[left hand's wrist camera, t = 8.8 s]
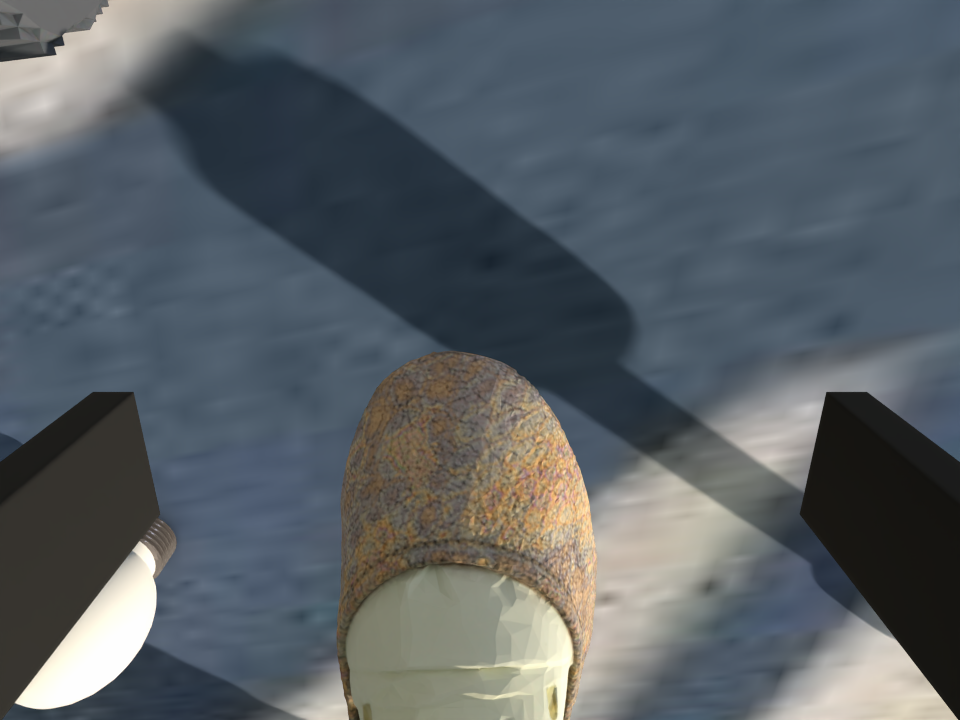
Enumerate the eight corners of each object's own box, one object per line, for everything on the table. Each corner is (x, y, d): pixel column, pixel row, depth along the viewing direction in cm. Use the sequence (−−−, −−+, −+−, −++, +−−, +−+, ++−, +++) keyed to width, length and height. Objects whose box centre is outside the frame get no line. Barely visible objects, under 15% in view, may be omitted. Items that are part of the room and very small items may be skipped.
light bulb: (209, 510, 38) (116, 660, 28) (182, 595, 40) (86, 762, 30) (93, 473, 37) (-49, 614, 27) (71, 562, 39) (-67, 723, 29)
